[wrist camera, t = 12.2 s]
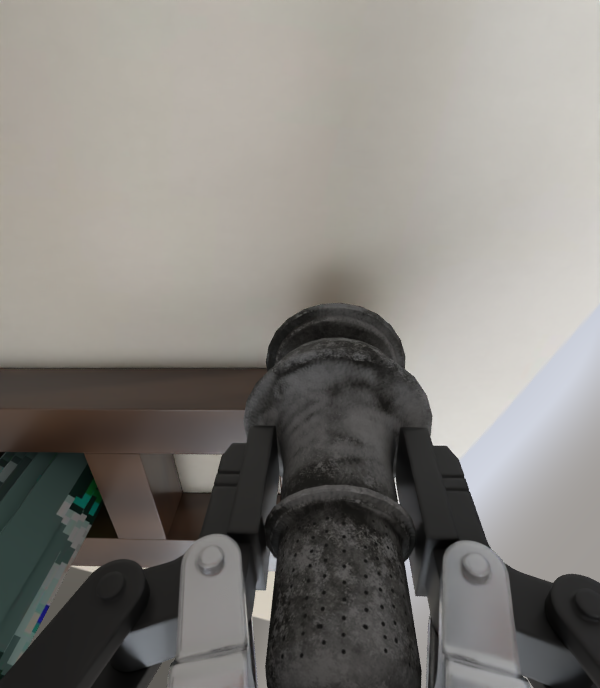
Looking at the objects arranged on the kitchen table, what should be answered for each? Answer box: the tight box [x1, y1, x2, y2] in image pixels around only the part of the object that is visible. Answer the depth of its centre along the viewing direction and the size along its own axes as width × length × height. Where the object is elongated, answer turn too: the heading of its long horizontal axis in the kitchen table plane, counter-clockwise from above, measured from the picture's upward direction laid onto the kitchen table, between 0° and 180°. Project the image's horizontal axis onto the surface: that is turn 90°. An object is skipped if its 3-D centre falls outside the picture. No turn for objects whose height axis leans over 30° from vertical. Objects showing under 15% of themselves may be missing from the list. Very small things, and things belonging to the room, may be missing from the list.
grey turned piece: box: [243, 303, 432, 688], centre depth 12 cm, size 6×6×12 cm
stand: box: [0, 368, 283, 571], centre depth 26 cm, size 13×23×4 cm, turn 92°
